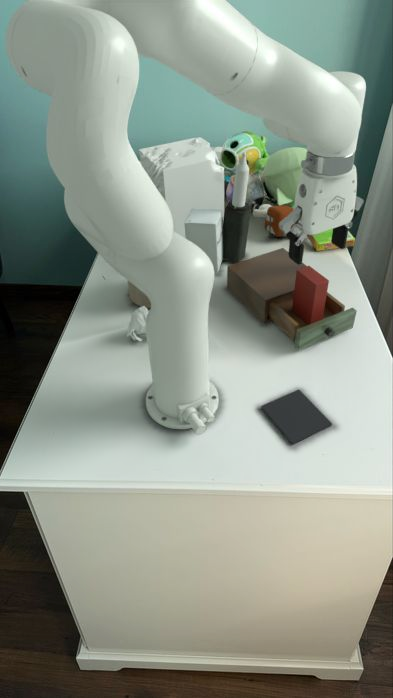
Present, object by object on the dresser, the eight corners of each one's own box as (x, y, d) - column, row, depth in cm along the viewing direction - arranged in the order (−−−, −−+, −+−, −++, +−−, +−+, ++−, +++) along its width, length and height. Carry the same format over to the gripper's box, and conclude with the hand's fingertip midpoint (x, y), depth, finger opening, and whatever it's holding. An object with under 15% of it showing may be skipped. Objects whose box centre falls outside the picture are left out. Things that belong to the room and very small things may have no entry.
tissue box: (206, 131, 132) (114, 147, 124) (236, 150, 121) (138, 170, 113) (206, 205, 145) (124, 224, 138) (233, 228, 135) (145, 250, 127)
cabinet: (320, 302, 109) (324, 278, 105) (263, 324, 104) (265, 300, 100) (280, 270, 119) (282, 247, 115) (226, 289, 114) (227, 265, 110)
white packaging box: (218, 274, 118) (216, 224, 110) (187, 271, 120) (182, 222, 111) (224, 257, 123) (223, 208, 115) (195, 255, 125) (191, 207, 117)
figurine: (202, 325, 104) (196, 294, 102) (136, 347, 97) (129, 313, 95) (184, 321, 110) (179, 291, 108) (121, 341, 103) (114, 310, 101)
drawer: (357, 331, 100) (361, 313, 98) (302, 354, 96) (304, 336, 93) (310, 293, 110) (313, 276, 107) (258, 312, 106) (259, 296, 103)
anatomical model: (259, 214, 146) (238, 225, 140) (232, 182, 147) (210, 191, 141) (278, 191, 138) (257, 201, 132) (249, 157, 139) (226, 165, 133)
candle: (218, 257, 123) (228, 152, 107) (227, 249, 126) (239, 146, 110) (236, 264, 121) (250, 158, 105) (246, 255, 124) (260, 151, 108)
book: (321, 322, 101) (329, 280, 94) (309, 327, 100) (316, 285, 93) (303, 306, 105) (308, 265, 98) (291, 311, 104) (296, 269, 97)
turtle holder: (279, 181, 157) (254, 191, 150) (236, 164, 166) (210, 172, 160) (286, 140, 149) (259, 149, 142) (240, 124, 158) (213, 131, 152)
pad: (331, 425, 84) (332, 423, 84) (292, 445, 81) (292, 442, 81) (298, 391, 90) (298, 389, 90) (260, 408, 87) (260, 406, 87)
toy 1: (233, 170, 141) (249, 221, 140) (279, 132, 126) (296, 189, 125) (284, 171, 153) (299, 218, 152) (332, 136, 138) (348, 189, 137)
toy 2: (243, 223, 138) (271, 240, 126) (245, 198, 134) (275, 212, 123) (272, 221, 141) (303, 237, 129) (275, 196, 138) (307, 210, 126)
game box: (315, 254, 125) (288, 210, 139) (353, 249, 127) (322, 206, 140) (318, 243, 123) (289, 200, 137) (355, 238, 124) (324, 196, 138)
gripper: (299, 181, 76) (290, 277, 88) (387, 155, 82) (367, 248, 93) (271, 164, 81) (265, 257, 93) (355, 141, 87) (340, 231, 98)
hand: (316, 253), depth 93 cm, fingers open, 9 cm apart
